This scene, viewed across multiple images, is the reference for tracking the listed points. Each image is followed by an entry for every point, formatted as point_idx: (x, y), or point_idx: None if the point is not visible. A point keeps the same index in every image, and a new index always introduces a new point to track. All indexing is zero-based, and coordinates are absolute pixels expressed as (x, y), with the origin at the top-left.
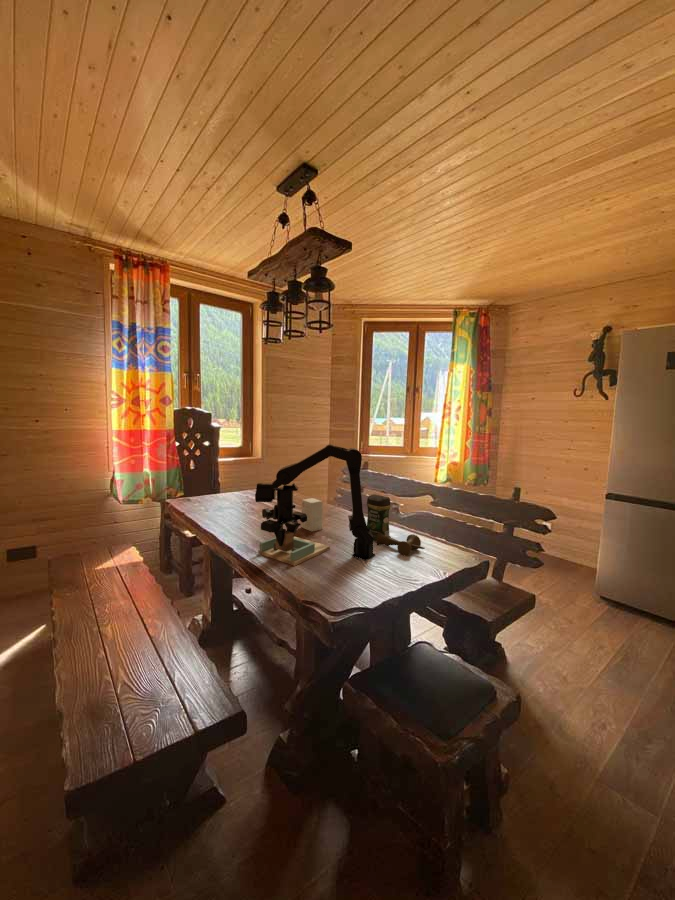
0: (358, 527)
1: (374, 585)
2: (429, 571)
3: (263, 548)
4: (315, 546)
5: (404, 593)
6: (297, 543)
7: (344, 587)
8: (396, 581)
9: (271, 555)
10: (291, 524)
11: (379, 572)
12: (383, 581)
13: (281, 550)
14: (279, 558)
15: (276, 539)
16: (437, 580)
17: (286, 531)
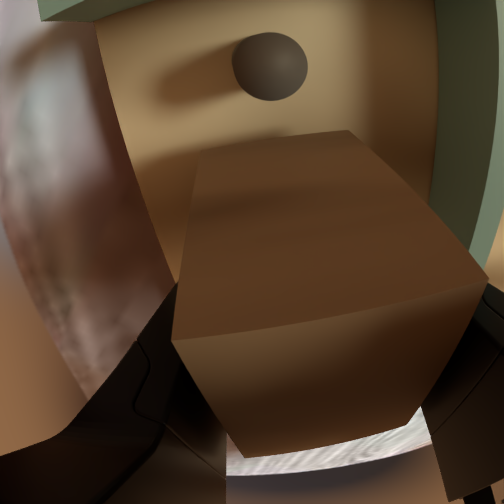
0: (459, 498)
1: (296, 459)
2: (418, 441)
3: (104, 10)
4: (498, 251)
5: (303, 471)
6: (454, 220)
7: (235, 453)
8: (343, 456)
9: (132, 158)
10: (495, 481)
11: (369, 437)
12: (327, 455)
13: (292, 126)
14: (166, 248)
15: (192, 231)
16: (385, 457)
17: (412, 375)
